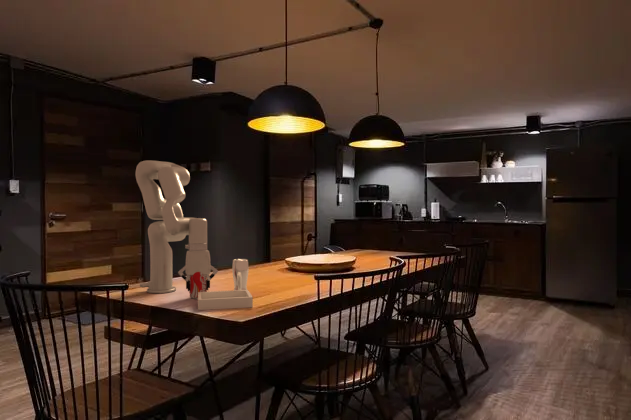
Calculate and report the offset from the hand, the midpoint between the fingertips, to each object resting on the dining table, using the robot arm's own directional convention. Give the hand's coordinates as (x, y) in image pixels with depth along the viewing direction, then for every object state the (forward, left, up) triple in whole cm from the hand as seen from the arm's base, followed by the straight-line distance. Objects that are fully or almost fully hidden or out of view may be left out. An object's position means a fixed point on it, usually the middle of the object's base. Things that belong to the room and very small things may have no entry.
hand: (198, 289), depth 189 cm
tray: (+10, -16, -3) cm, 19 cm away
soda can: (0, 0, -4) cm, 4 cm away
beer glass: (+18, +4, -4) cm, 19 cm away
